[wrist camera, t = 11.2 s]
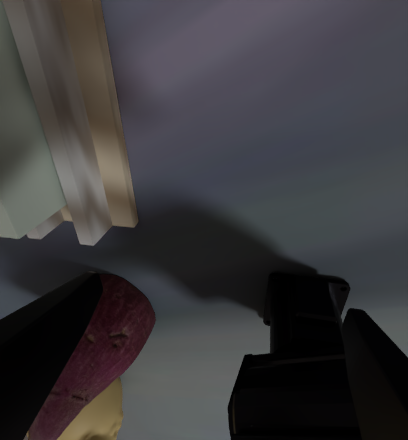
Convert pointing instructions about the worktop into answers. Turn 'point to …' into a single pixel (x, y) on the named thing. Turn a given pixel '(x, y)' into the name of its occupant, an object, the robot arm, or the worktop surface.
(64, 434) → the yellow rounded lump
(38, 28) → the track
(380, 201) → the worktop surface
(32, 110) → the rectangular block
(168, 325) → the worktop surface
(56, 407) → the vegetable
